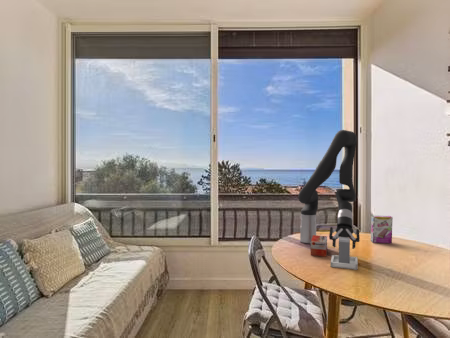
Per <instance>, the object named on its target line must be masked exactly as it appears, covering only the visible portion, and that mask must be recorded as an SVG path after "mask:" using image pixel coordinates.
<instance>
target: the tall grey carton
mask: <svg viewBox="0 0 450 338" xmlns="http://www.w3.org/2000/svg"><path fill="white" fill-rule="evenodd" d="M350 245H351V240H350V238H349V237H339V238H338V255H339V263H348V264H350V257H351V252H350V251H351V247H350Z"/></svg>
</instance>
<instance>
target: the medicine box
mask: <svg viewBox="0 0 450 338" xmlns="http://www.w3.org/2000/svg"><path fill="white" fill-rule="evenodd" d="M327 252H328V236H327V235H317V234H316V235H313V236H312V239H311V243H310V256H314V257H317V256H319V257H327Z"/></svg>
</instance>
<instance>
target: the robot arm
mask: <svg viewBox="0 0 450 338" xmlns="http://www.w3.org/2000/svg"><path fill="white" fill-rule="evenodd" d="M357 142H358V137H357V134H356V133H355V132H354V131H350V130H347V129H341V130H338V131H337V132H336V133H335V135H334V137H333V139H332V141H331V142H330V145H329V147H328V148H327V150H326V152H325V153H324V156H323V157H322V158H321V160H320V161H319V163H318V165H316V168H315V170H314V171H313V173H312V174H311V175H310V177H309V178H308V180H307V182H306V183H305V184H304V186H303V187H302V188H301V190H300V191H299V193H298V201H299V203H301V204H304V206H303V207H302V208H301V210H300V226H299V227H300V231H299V232H300V233H299V234H300V237H299V238H300V239H299V241H300V243H303V244H311V239H312V236H313V235H317V211H318V209H319V208H318V206H319V193H318V191H317V189H318V188H319V187H320V186H321V185H322V184H323V183H325V182H326V181H328V179H329V178H330V177H331V176H332V174H333V172H334V171H335V170H336V167H337V162H338V161H337V160H338V156H339V154H340V152H342V151H341V150H342V149H344V156H343V160H342V162H341V164H340V167H339V175H338V177H339V179H338V182H339V184H340V185H343V186H347V187H348V188H339V189H337V190H336V192H335V198H336V200H337V201H336V202H337V207H338V209H337V210H338V211H337V219H336V227H335V228H333V226H330V227H329V234H328V238H329V240H331V241H332V246H333V248H336V247H337V246H336V244H337V240H339V237H348V238H350V241H352V244H351V245H352V248H351V249H352V250H354V249H356V243H360V241H361V240H360V229H359V228H356V229H353V222H354V220H353V219H354V218H353V205H352V203H353V202H355V201H356V199H357V193H356V190H355V186H354V179H353V178H354V160H355V155H356V149H357ZM351 202H352V203H351ZM335 232H336V233H335ZM333 233H335V234H334V235H333ZM353 234H355V235H356V237H355V236H354V235H353Z"/></svg>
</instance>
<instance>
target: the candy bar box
mask: <svg viewBox="0 0 450 338" xmlns="http://www.w3.org/2000/svg"><path fill="white" fill-rule="evenodd" d="M370 218H371V219H370V221H371V222H370V223H371V224H370V241H371V243H373V244H393V216H391V215H378V214H377V215H376V214H373V215H371V216H370Z"/></svg>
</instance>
